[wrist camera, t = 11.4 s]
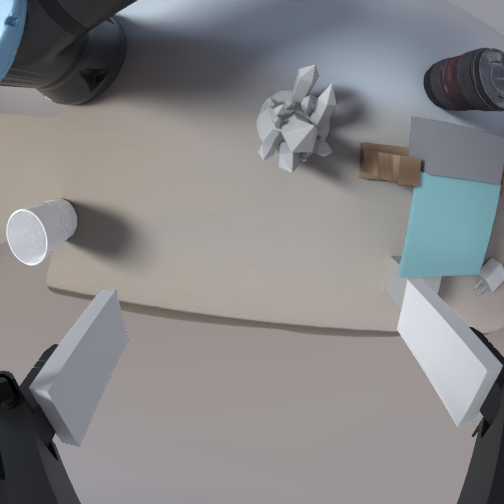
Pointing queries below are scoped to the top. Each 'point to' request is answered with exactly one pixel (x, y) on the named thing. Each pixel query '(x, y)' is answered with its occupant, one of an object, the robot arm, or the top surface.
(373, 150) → the stand
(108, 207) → the top surface
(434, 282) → the plain grey cube
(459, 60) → the camera lens
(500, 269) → the usb wall charger
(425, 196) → the trapdoor
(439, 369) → the robot arm
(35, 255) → the white cup
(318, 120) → the crystal
